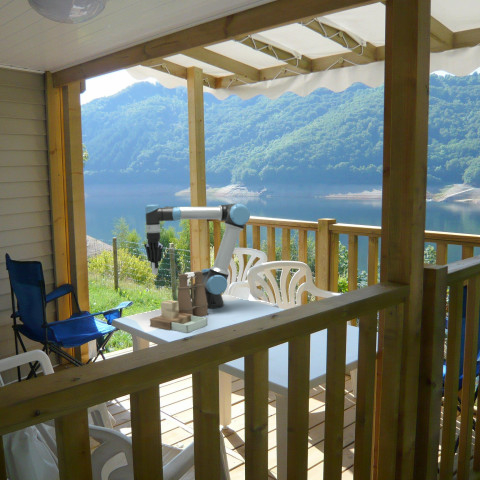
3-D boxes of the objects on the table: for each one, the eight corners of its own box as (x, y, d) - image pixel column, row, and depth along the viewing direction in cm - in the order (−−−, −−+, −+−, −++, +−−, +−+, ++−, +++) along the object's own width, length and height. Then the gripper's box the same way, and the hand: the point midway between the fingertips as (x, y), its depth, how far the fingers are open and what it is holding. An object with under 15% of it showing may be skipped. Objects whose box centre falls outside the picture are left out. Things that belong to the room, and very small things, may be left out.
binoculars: (182, 322, 274) (181, 277, 272) (172, 318, 282) (170, 274, 279) (212, 314, 288) (210, 271, 285) (201, 311, 296) (199, 269, 293)
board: (173, 318, 281) (173, 311, 281) (192, 321, 273) (192, 314, 273) (150, 326, 266) (150, 318, 266) (169, 330, 258) (169, 322, 258)
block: (169, 314, 274) (168, 299, 273) (178, 316, 270) (178, 301, 269) (161, 316, 269) (160, 302, 269) (171, 318, 265) (170, 303, 265)
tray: (191, 322, 272) (191, 315, 272) (207, 325, 266) (207, 318, 265) (171, 329, 259) (171, 322, 259) (187, 332, 253) (187, 325, 252)
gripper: (139, 232, 283) (141, 273, 285) (157, 233, 275) (158, 275, 278) (149, 231, 289) (151, 271, 291) (166, 231, 281) (168, 273, 284)
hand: (155, 273), depth 284 cm, fingers closed
